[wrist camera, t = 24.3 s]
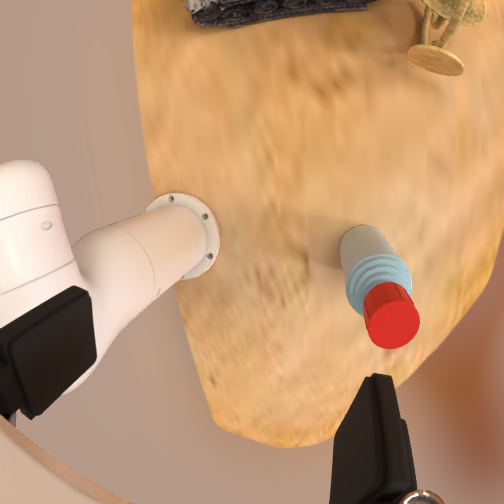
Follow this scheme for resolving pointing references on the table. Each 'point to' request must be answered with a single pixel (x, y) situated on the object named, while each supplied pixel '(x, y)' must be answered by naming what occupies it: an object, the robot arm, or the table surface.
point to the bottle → (369, 264)
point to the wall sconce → (445, 33)
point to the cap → (390, 315)
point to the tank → (262, 10)
